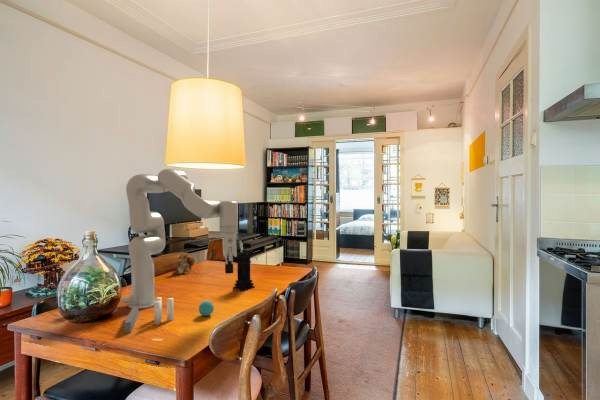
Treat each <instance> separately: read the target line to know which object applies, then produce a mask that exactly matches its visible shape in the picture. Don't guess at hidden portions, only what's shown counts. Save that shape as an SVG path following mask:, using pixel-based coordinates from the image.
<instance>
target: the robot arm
mask: <svg viewBox="0 0 600 400" xmlns="http://www.w3.org/2000/svg"><path fill="white" fill-rule="evenodd" d="M125 188H126V189H125V190H126V198H127V201H128V213H129V224H130V229H131V230H132V232H133V233H136V234H144V233H147V234H146V235H145V234H144V235H140V236H136V237H134V238H133V239H131V241H129V243H128V247H127V248H128V254H129V258H130V267H131V268H130V269H131V270H130V271H131V273H130V274H131V277H130V278H131V295H130V296H127V297H126V296H125V297H124V296H122V297H121V298H120V302H122V303H127V304H128V305H127V307H128V308H129V309H132V308H133V307H137V306H138V310H140V309H148V308H151V307H154V302H155V298H156V297H155V292H156V291H155V262H154V260H153V259H152V255H156V254H160V253H161V252H163V251H164V249H165V247H166V230H165V221H164V220H165V219H164V218H163V216H162V215H161V214H160V213H159V212H157V211H151V210H150V201H149V199H148V197H147V196H146V194H160V193H161V194H162V193H166V192H170V193H172V194H173V195H174V196H176V197H177V198H178V199H180V200H181V203H182V204H183V206H184V208H186V209H187V210H188V211H189V212H191V213H192V214H193V215H195V216H197V217H198V218H201V219H205V220H206V219H215V218H218V219H219V235H222V252H223V253H222V254H223V256H224V259H225V263H224V270H225V271H224V273H225V274H226V275H227V274H234V262H233V261H234V258H237V251H238V250H237V236H236V234H238V233H239V232H238V230H239V228H238V225H239V224H238V221H239V220H238V219H239V218H238V203H237V201H236V200H235V201H234V200H215V199H213V200H212V199H211V200H209V199H208V200H206V199H204V198H202V197H200V196H199V195H197V193H195V192H196V191H195V190H196V186H195V184H194V183H193V182H191V181H190V180H189V179H188V175H187V174H186V173H185V172H184V171H183V170H182V169H181V170H180V169H174V168H165V169H162V170H160V171H159V172H158V173H157V174H148V173H140V174H135V175H133V176H132V177H131V178H130V179H129V180H128V182H127V183H126V187H125Z"/></svg>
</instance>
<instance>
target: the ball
mask: <svg viewBox="0 0 600 400" xmlns="http://www.w3.org/2000/svg"><path fill="white" fill-rule="evenodd" d="M214 308H215V306H214V304H213V302H212V301H209V300H205V301H202V302H201V303H200V305H199V306H198V313H199V314H200V315H202V316H204V317H208V316H210V315H211V314H213V312H214V310H215V309H214Z"/></svg>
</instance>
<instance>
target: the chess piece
mask: <svg viewBox="0 0 600 400" xmlns="http://www.w3.org/2000/svg"><path fill="white" fill-rule="evenodd" d="M253 253H254V250H249V251H248V252H247V249H242V250H241V251H240V252H239V250H237V257H236V260H237V261H236V262H235V263H236V264H237V280H235V283H234V284H233V285H234V286H233V289H235V290H239V291H248V290H251V289H254V288H255V285H254V282H253V280H252V279H251V263H252V261H251V258H252V257H253Z"/></svg>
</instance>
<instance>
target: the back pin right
mask: <svg viewBox="0 0 600 400" xmlns="http://www.w3.org/2000/svg"><path fill="white" fill-rule="evenodd" d="M153 312H154V313H153V315H154V316H153V320H154V321H153V323H154V325H155V326H156V325H161V324H162V319H161V301H155V302H154V306H153Z"/></svg>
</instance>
